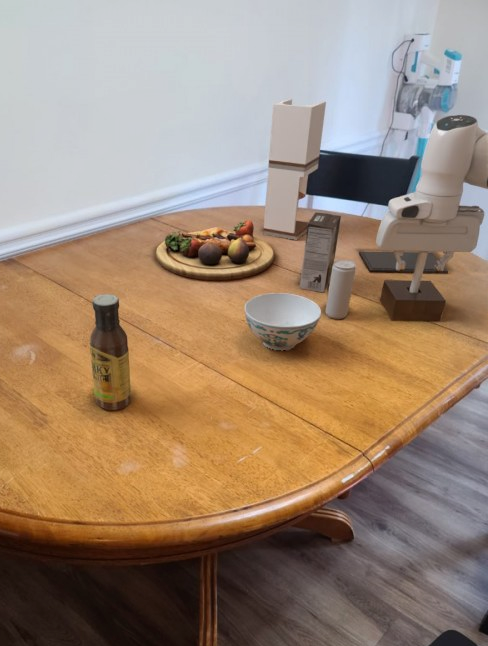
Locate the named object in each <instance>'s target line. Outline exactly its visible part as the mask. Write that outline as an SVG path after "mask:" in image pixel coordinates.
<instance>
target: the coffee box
mask: <svg viewBox="0 0 488 646" xmlns="http://www.w3.org/2000/svg"><path fill="white" fill-rule="evenodd" d="M341 218H342V215H337V214H332V213H327V212H318V211H317V212H316V211H315V212H314V214H313V215H312V216H311V219H310V220H309V221H308V226H307V233H305V235H306V236H305V242H304V243H305V244H304V250H303V257H302V266H301V273H300V274H301V275H300V282H299V289H300V290H307V291H313V292H318V293H325V292H326V290H327V288H328V286H329V285H330V279H331V273H332V267H333V265H334V262H335V260H336V253H337V252H336V251H337V245H338V238H339V232H340V225H341Z"/></svg>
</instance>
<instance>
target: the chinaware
mask: <svg viewBox="0 0 488 646" xmlns="http://www.w3.org/2000/svg"><path fill="white" fill-rule="evenodd" d="M320 307H321V306H319V305H318V304H317V303H316V302H315V301H313V300H311V299H309V298H307V297H305V296H301V295H298V294H293V293H287V292H267V293H262V294H258V295H256V296H253V297H251V298H249V299H248V301H246V302H245V304H244V316H245V319H246V322H247V323H246V324H247V325H248V327H249V329H250V331H251V332H252V334H253V335H254V336H255V337H256V338H257V339H258V340H260V341H261V342H262V344H263V346H264V347H266V348H267V347H268V348H267V349H269V348H271V349H270V350H272V349H274V350H273V351H276V350H281V351H280V352H284V351H283V350H286V351H290V350H292V349H294V348H295V347H296V345H298V344H300V343H302V342H303V341H304V340H306V339H308V337H309V336H310V335H311V334H312V333H313V332H314V330H315V329H316V327H317V325H318V324H319V322H320V318H321V316H322V310H321V308H320ZM291 348H292V349H291Z"/></svg>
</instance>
